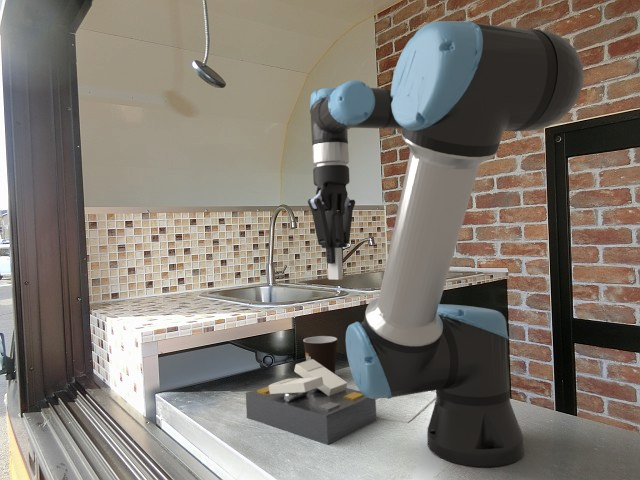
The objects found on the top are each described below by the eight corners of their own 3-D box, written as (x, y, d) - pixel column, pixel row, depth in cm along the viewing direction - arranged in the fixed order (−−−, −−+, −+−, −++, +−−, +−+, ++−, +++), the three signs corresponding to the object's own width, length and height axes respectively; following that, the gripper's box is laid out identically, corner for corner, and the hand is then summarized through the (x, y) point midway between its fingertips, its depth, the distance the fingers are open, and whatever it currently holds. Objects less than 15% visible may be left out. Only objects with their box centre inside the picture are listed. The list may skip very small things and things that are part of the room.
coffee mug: (339, 383, 121) (337, 342, 121) (304, 384, 121) (302, 343, 121) (338, 370, 133) (336, 333, 133) (306, 371, 133) (304, 334, 133)
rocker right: (345, 389, 99) (347, 382, 99) (328, 396, 95) (330, 388, 95) (311, 365, 105) (312, 358, 105) (294, 371, 102) (295, 363, 101)
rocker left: (323, 385, 94) (321, 375, 94) (305, 392, 90) (303, 382, 90) (288, 387, 100) (286, 378, 100) (269, 393, 97) (268, 384, 97)
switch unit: (376, 420, 95) (374, 386, 95) (327, 444, 85) (326, 407, 85) (296, 399, 110) (295, 369, 110) (246, 417, 100) (245, 385, 100)
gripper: (336, 170, 111) (341, 275, 111) (296, 165, 101) (301, 281, 101) (364, 166, 106) (368, 276, 106) (324, 161, 96) (329, 282, 96)
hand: (335, 279), depth 104 cm, fingers closed
